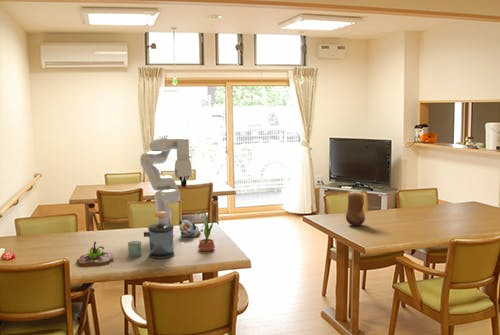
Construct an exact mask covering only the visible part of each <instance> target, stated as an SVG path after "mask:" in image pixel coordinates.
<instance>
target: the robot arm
mask: <svg viewBox="0 0 500 335" xmlns="http://www.w3.org/2000/svg"><path fill="white" fill-rule="evenodd" d="M149 149H150V150H151V151H147V152H144V153H142V154H141V155H140V160H139V161H140V166H141V168H142V170H143V171H144V172H145V174H146V175H147V178H148V181H149V183H150V185H151V188H152V189H153V190H154V191H155V193H154V201H155V210H156V211H155V212H159V211H164V212H166V216H164V217H163V223H168V224H172V210H171V208H170V206H169V204H174V203H178V202H180V200H181V193H180V190H179V187H178V185H177V183H176V181H175V179H178V180H179V181H180V186H181V188H186V187H187V186H188V185H187V181H188V179H189V178H191V177H192V173H193V169H192V162H191V159H190V158H192V156H191V155H190V141H189V138H187V137H183V136H170V137H162V138H158V139H157V138H156V139H153V140H151V141H150V142H149ZM171 150H176V160H175V163H174V176H175V177H174V178H175V179H174V178H173V176H172V175H162V174H161V173H160V170H159V169H158V168H157V167H156V166H155V165H158V164H159V165H160V164H164V163H165V162H166V161H167V159H168V157H169V155H170V153H171ZM156 224H159V222H158V217H156ZM174 236H175V234H174V233H173V237H174Z"/></svg>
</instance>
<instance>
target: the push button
mask: <svg viewBox="0 0 500 335" xmlns="http://www.w3.org/2000/svg"><path fill="white" fill-rule="evenodd" d="M154 216H155V217H156V218H157V217H158V222H159V225H162V224H163V217H164V216H166V212H164V211H159V212H156V211H155V212H154Z"/></svg>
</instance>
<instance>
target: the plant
mask: <svg viewBox="0 0 500 335" xmlns="http://www.w3.org/2000/svg"><path fill="white" fill-rule="evenodd" d="M96 245H97V242H96V241H93V247H91V248H90V249H89V250H87V253H85V254H82V255H80V256H79V258H77V259H76V265H78V267H83V268H84V267H95V266H96V267H100V266H106V265H110V264H111V263H112V262H114V257H113V253H109V252H105V247H104V246H99V247H97V248H96ZM100 248H101V249H100ZM102 250H103V251H102Z"/></svg>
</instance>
